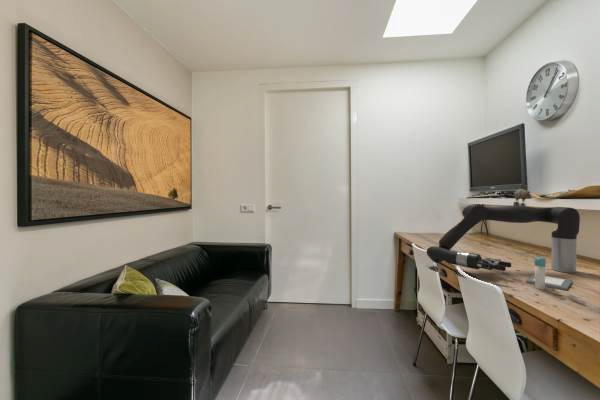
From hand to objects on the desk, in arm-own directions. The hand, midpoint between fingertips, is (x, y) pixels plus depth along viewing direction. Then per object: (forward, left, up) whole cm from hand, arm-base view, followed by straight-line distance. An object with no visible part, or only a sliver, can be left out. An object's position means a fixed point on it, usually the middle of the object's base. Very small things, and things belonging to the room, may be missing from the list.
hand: (508, 266), depth 120 cm
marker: (0, +11, -7) cm, 13 cm away
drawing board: (-13, +12, -7) cm, 19 cm away
